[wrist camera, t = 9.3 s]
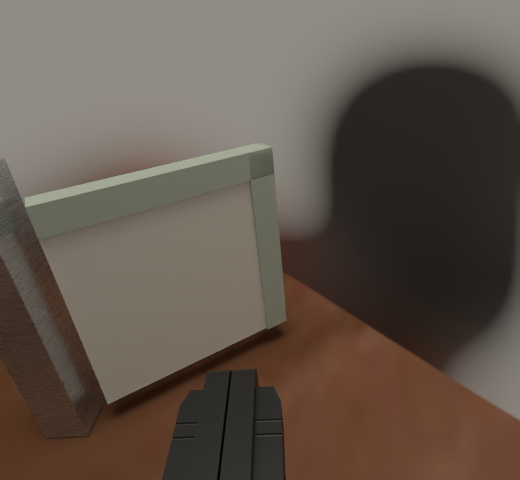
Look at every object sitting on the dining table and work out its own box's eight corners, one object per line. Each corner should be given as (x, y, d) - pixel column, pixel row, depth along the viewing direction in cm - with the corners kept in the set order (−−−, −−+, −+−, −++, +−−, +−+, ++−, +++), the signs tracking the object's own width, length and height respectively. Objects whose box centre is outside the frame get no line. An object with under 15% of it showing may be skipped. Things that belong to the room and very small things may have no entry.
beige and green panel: (108, 406, 22) (25, 207, 16) (103, 388, 23) (24, 197, 17) (286, 320, 27) (271, 147, 21) (274, 309, 28) (257, 143, 23)
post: (46, 438, 22) (-99, 181, 15) (67, 401, 24) (-49, 163, 17) (88, 436, 22) (-37, 175, 15) (105, 399, 24) (4, 158, 17)
